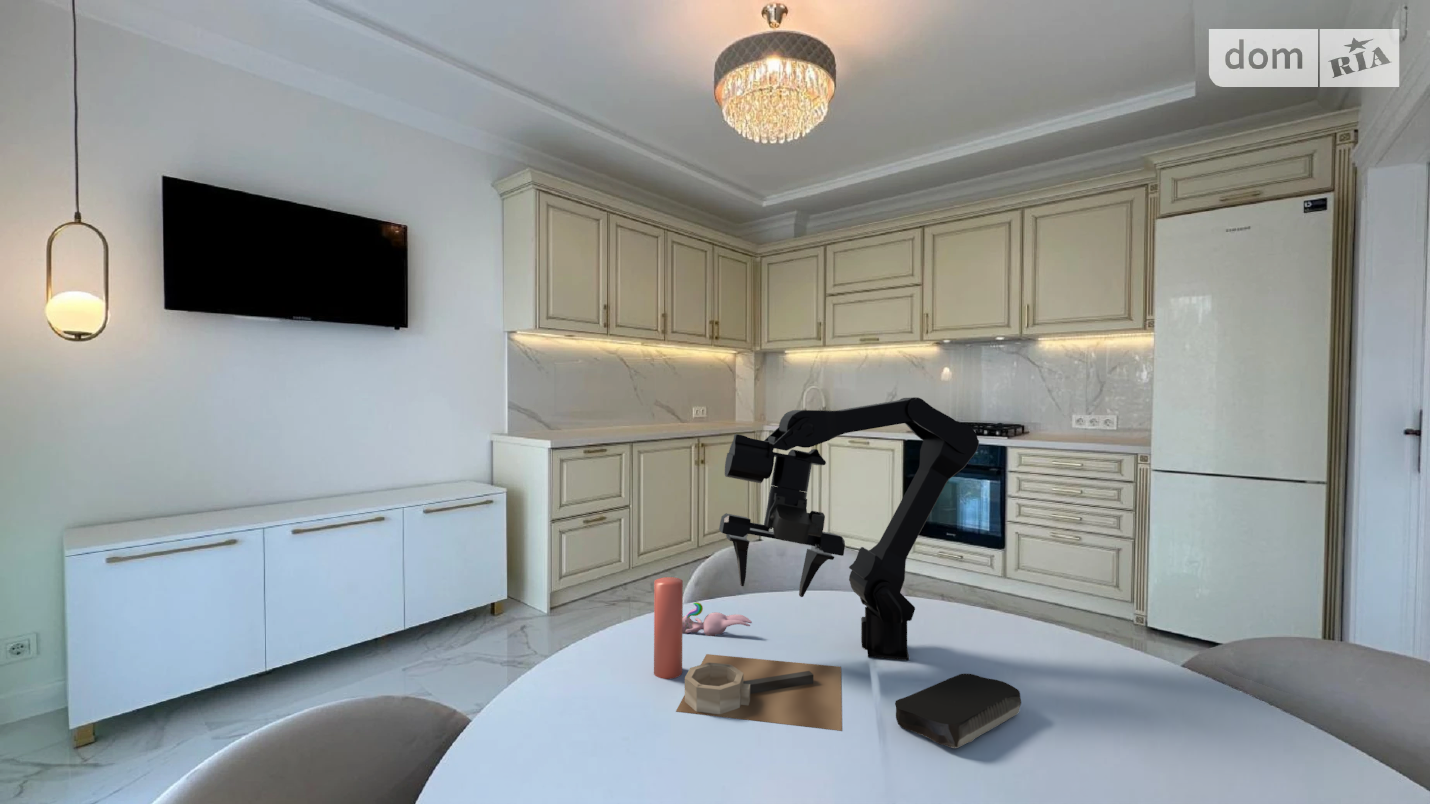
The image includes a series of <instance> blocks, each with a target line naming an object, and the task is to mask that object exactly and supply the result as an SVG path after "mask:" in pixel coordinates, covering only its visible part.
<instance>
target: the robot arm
mask: <svg viewBox="0 0 1430 804" xmlns="http://www.w3.org/2000/svg"><path fill="white" fill-rule="evenodd" d="M901 424H904V425H905V426H907V427H908V428H909V429H910V431H911V432H912V433H913V434H914V435H915V436H916V437H918V438H919V439H920V440H921V441H922V444H921V446H920V449H919V467H918V468H917V471H916V473H915V475H914V476H913V478H912V480H911V482H910V483H909V485H908V487H907V490H906V491H905V492H904V495H903V497H902V498H901V501H900V503H899V504H898V506H897V508H896V510H895V512H894V514H893V515H892V517H891V520H889V522H888V525H887V527H886V528H885V530H884V532H883V534H882V536H881V538H880V540H879V542H878V543H877V544H876V545H874V546H873V547H872V548H870V549H869V550H868V549H867V548H865V547H863V546H861V547H860V548H859V550H858V553H857V554H856V555H857V556H856V558H855V560H854V561H853V563H852V564H851V565H849V566H848V568H849V569H850V570H851V571H850V574H849V575H848V576H849V579H848V580H849V583H850V587H851V589H852V590H853V593H855V594H856V595H857V596H858V597H859V598H860V602H861V604H862V605H864V606H865V607H864V616H862V617H860V618H861V620H860V624H861V625H860V628H861V629H860V631H861V633H860V637H861V638H860V639H861V640H860V641H861V642H860V643H861V648H863V649H864V650H865V651H867V657H868V658H876V659H877V658H878V659H886V660H887V659H890V660H899V661H910V655H909V651H908V622H911V621H912V619H913V617H914V613H915V610H916V607H915V606H914V605H913V604H912V603H911V602H910V601H909V600H908V599H907V597H905V596H904V595H903V594H902V588H903V586H904V582H905V579H906V565H907V562H906V561H907V558H908V555H909V554H910V553H911V551H912V549H913V546H914V545H915V542H916V540H917V539H918V537H919V535H920V533H921V532H922V529H923V528H924V526H925V525H926V522H927V520H928V518H929V517H930V514H932V510H933V509H934V507H935V505H936V504H937V502H938V500H939V498H940V496H941V494H942V492H943V490H944V488H945V486H946V485H947V483H948V482H949V480H950V479H952V478H953V477H954V476H956V475H957V474H958V473H960V472H961V470H963V469H964V468H965V467H966V466H967V464H969V462H970V460H971V459H972V458H973V457H974V456H975V454H976V452H978V448H979V446H980V445H979V444H980V440H979V439H978V434H977V433H976V431H975V430H974V428H973V427H971V426H970V425H969V424H966V423H959V422H958V421H956V420H955V419H954V418H953V417H950V416H949V415H947V414H945V413H944V412H942V411H941V410H938V409H936V408H935V407H933V406H932V405H930V404H929V403H928V402H926V401H925V400H924V399H922V398H920V397H915V396H914V397H902V398H900V399H898V400H891V401H887V402H880V403H875V404H874V403H873V404H867V405H863V406H862V405H861V406H856V407H855V406H854V407H850V408H849V407H848V408H843V409H837V410H821V409H820V410H818V409H816V410H812V409H811V410H810V409H809V410H808V409H807V410H806V409H794V410H790V411H787V412H786V413H785V414H784V415H783V416H782V417H781V419H780V422H779V424H778V427H777V428H776V429H775V430H774V431H773V432H772V433H770V434H769V435H768V436H767V437H766V438H765V439H764V440H761V439H756V438H751V437H748V436H746V435H743V434H738V433H735V434H734V435H733V439H732V442H731V444H730V447H729V450H728V452H727V453H726V456H725V463H724V476H725V478H731V479H737V480H742V481H745V482H746V481H747V482H753V483H757V484H762V483H763V482H764V479H765V480H767V479H770V477H771V476H772V477H771V484H770V488H769V493H768V494H769V495H768V500H767V505H766V512H765V516H764V521H763V524H762V523H756V522H751V519H750V518H749V517H748V516H744V515H743V516H742V515H738V514H736V515H735V514H732V513H727V512H726V513H724V514H723V515H722V516H721V518H720V523H719V527H718V531H719V532H720V533H721V534H723V535H725V536H726V537H725V538H726V539H728V541H730V542H732V544H733V549H734V551H735V555H736V560H737V561H736V562H737V570H738V576H739V577H738V578H739V583H740V584H739V585H740V586H741V587H744V586H745V582H746V578H747V577H746V576H747V565H748V554H749V553H748V550H749V545H750V540H749V539H748V536H749V535H751V536H758V537H763V538H768V539H773V540H779V541H783V542H785V541H786V542H790V543H795V544H799V545H805V546H811V548H810V549H809V548H807V549H806V552H805V557H804V562H803V568H802V571H801V572H802V573H801V576H800V578H801V579H800V582H799V588H798V589H799V592H798V595H799V597H800V598H803V597H804V596H805V594H806V593H807V590H808V589H809V587H810V584H811V583H812V581H813V580H814V577H815V576H816V574H817V573H818V570H820V568H821V566H823V564H825V563H826V562H827V561H828V560H831V561H833V560H834V559H835V556H833V555H836V556H841V557H842V556H843V557H844V554H845V549H846V544H845V543H846V542H845V539H844V537H843V536H841V535H840V534H839V535H838V534H837V533H831V532H828V531H826V532H825V531H824V528H825V521H826V520H825V519H826V515H825V514H824V512H822V511H816V510H811V511H810V512H808V510H807V506H808V499H807V496H808V490H809V484H810V478H811V471H812V466H825V465H826V464H827V461H826V460H825V459H824V458H823V456H822V455H821V454H820V452H819V450H818V449H817V448H814V449H811V450H810V451H808V452H806V451H803V450H802V451H801V450H798V449H794V448H795V447H799V448H805V449H806V448H808V449H809V448H812V447H814V446H817V445H820V444H822V443H825V442H828V441H830V440H833V439H834V438H836V437H839V436H841V435H844V434H847V433H848V434H849V433H854V432H860V431H865V430H873V429H878V428H883V427H885V428H886V427H890V426H897V425H901ZM774 449H776V450H780V451H781V450H782V451H789V452H788V454H786V453H780V452H776V451H774ZM771 530H773V531H771Z"/></svg>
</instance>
